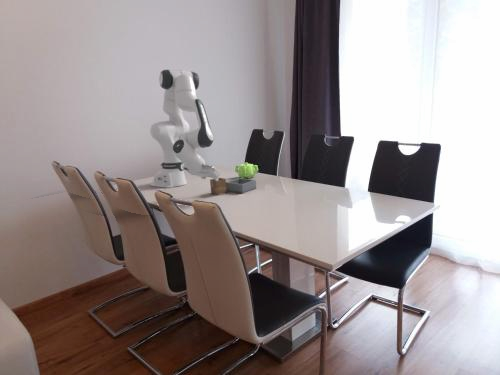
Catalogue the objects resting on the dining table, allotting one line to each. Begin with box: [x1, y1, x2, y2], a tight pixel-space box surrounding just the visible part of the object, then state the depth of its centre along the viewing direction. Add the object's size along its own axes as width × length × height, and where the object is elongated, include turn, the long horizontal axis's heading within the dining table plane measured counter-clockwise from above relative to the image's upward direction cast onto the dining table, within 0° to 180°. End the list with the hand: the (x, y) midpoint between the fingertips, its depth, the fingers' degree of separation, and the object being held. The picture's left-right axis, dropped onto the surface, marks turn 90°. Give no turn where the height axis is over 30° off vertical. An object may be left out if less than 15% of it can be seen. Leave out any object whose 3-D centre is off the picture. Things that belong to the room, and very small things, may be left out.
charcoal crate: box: [226, 177, 257, 194], centre depth 230 cm, size 12×12×5 cm
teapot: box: [234, 162, 259, 180], centre depth 260 cm, size 12×12×10 cm
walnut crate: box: [209, 177, 227, 196], centre depth 225 cm, size 6×6×8 cm
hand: (210, 179), depth 220 cm, fingers open, 8 cm apart
